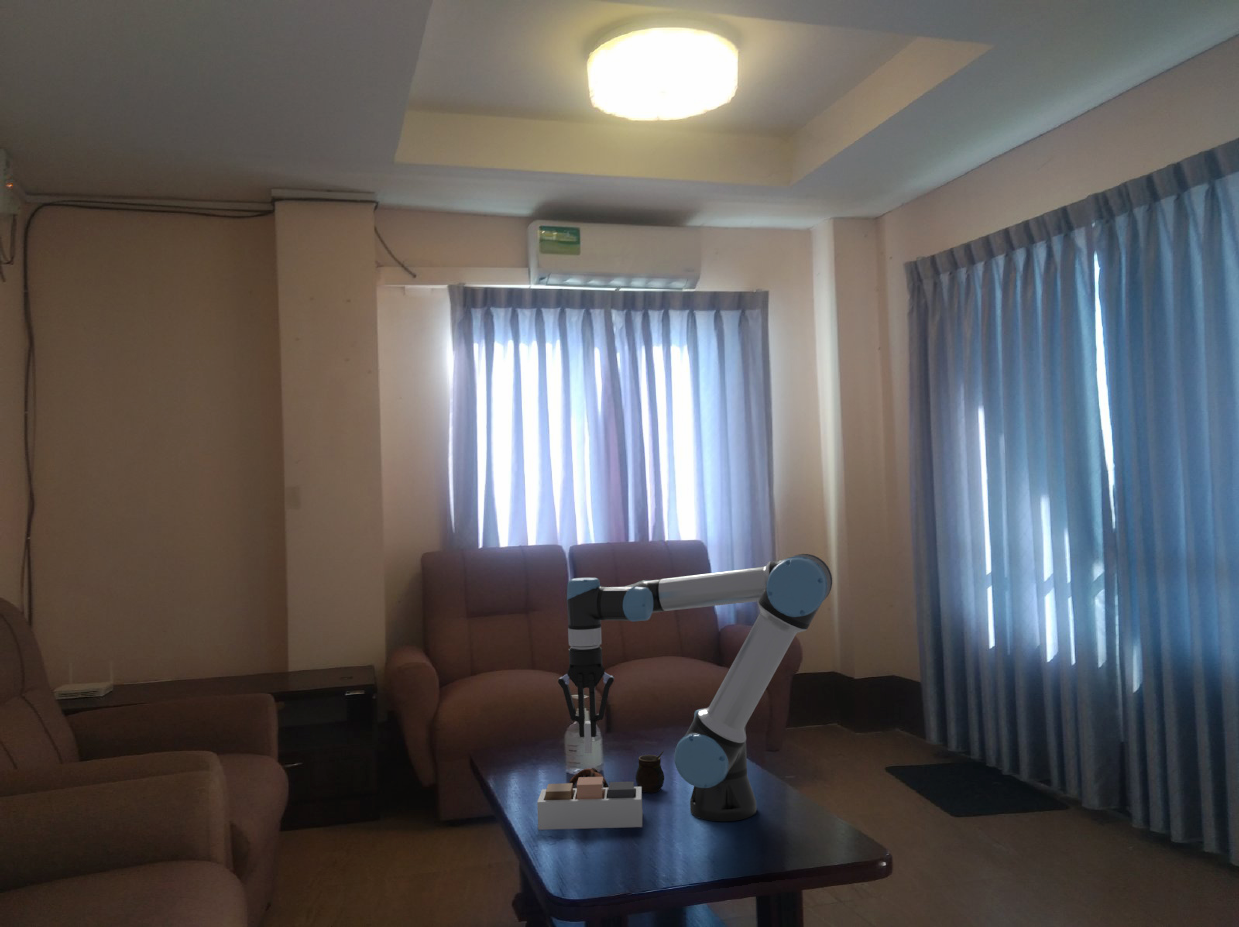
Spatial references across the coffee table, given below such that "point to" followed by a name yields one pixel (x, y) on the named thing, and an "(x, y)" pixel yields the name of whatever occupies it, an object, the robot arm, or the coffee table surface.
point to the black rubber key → (621, 790)
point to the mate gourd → (650, 773)
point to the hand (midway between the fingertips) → (588, 751)
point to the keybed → (590, 812)
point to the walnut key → (559, 791)
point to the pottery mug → (588, 773)
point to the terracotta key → (590, 788)
